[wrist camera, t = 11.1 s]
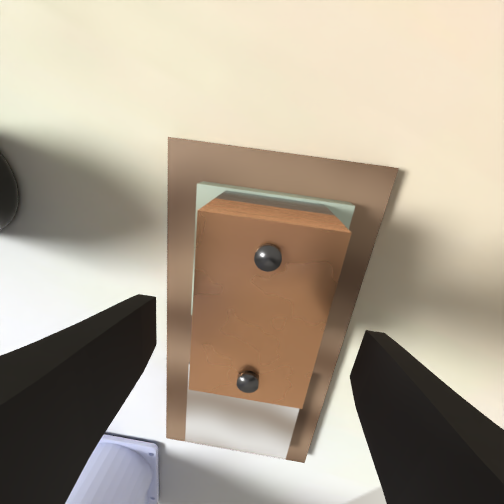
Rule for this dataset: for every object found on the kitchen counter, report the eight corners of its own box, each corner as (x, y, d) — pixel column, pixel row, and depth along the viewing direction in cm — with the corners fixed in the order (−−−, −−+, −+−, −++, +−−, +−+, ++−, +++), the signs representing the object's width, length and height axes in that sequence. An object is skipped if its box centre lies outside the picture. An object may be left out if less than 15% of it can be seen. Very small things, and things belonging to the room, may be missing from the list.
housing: (324, 204, 13) (354, 235, 8) (294, 333, 16) (302, 415, 11) (225, 190, 13) (194, 212, 8) (214, 320, 16) (186, 395, 11)
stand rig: (303, 452, 22) (305, 479, 21) (170, 428, 23) (160, 453, 21) (391, 167, 14) (410, 169, 12) (173, 137, 14) (158, 135, 12)
